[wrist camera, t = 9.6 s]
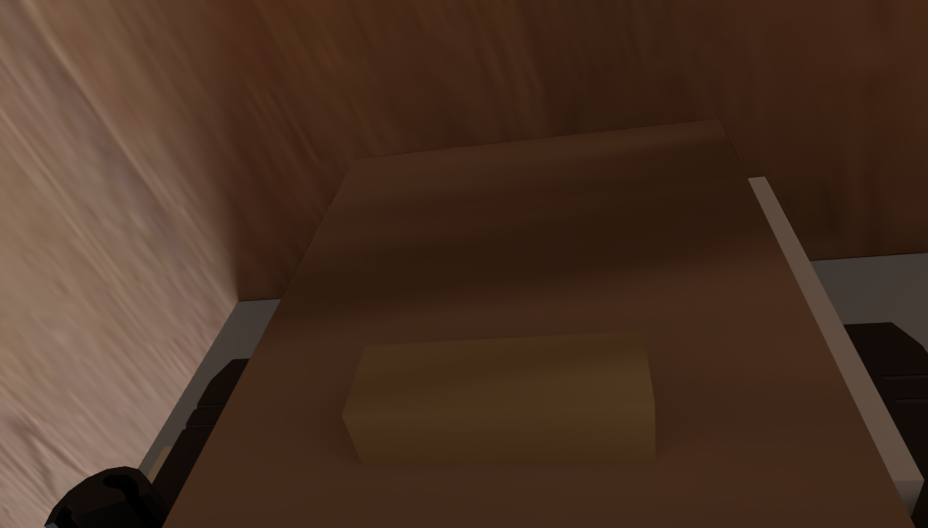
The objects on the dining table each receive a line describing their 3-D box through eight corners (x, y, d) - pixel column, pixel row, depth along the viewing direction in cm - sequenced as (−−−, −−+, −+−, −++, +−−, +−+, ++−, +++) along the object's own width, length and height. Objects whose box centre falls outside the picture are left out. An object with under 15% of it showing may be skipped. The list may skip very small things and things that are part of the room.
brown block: (343, 122, 13) (3, 682, 5) (720, 76, 12) (1090, 738, 4) (432, 423, 18) (335, 946, 10) (704, 414, 17) (842, 1009, 9)
